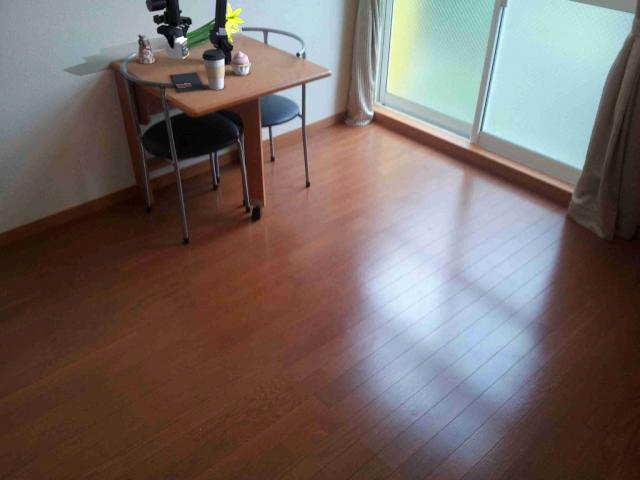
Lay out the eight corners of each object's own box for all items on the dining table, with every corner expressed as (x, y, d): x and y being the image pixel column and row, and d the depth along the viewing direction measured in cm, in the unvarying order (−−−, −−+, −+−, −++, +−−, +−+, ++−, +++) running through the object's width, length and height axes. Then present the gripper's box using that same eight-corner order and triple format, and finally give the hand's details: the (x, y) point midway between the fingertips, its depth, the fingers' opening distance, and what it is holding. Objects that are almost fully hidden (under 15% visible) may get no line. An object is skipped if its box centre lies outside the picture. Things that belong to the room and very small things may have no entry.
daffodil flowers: (175, 44, 289) (236, 17, 297) (189, 66, 286) (250, 38, 294) (170, 22, 273) (234, -6, 281) (184, 45, 270) (249, 16, 278)
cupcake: (248, 68, 261) (247, 46, 255) (253, 76, 254) (252, 53, 248) (228, 71, 258) (226, 48, 252) (233, 78, 251) (231, 55, 245)
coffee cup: (228, 83, 246) (226, 48, 237) (226, 91, 239) (223, 56, 230) (206, 83, 246) (203, 48, 237) (203, 91, 238) (200, 55, 229)
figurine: (146, 64, 262) (142, 38, 255) (135, 61, 265) (131, 35, 258) (158, 60, 267) (154, 34, 260) (147, 57, 270) (143, 31, 263)
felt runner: (196, 73, 255) (196, 72, 255) (204, 89, 240) (204, 88, 240) (171, 75, 252) (171, 74, 252) (178, 92, 237) (178, 91, 237)
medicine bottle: (183, 59, 247) (179, 31, 240) (167, 58, 248) (163, 30, 241) (189, 54, 253) (186, 26, 246) (174, 52, 254) (170, 25, 247)
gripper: (168, 0, 248) (172, 37, 257) (143, 11, 234) (148, 49, 243) (190, 3, 245) (194, 40, 254) (166, 14, 231) (171, 53, 240)
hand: (177, 45), depth 248 cm, fingers closed on medicine bottle, 7 cm apart
